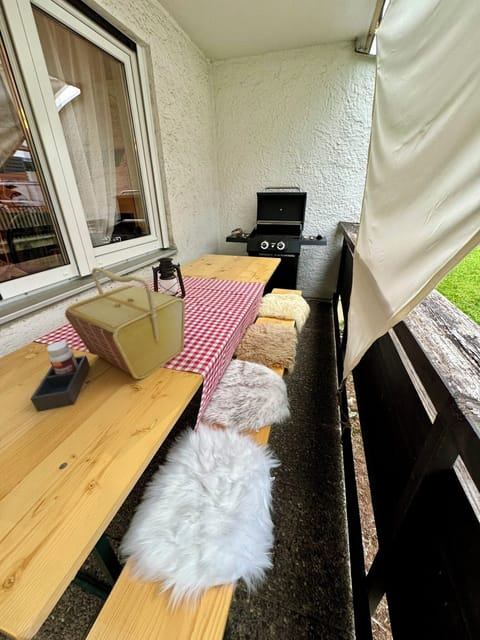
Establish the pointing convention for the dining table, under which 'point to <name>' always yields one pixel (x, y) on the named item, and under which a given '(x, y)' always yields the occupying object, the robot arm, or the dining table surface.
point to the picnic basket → (130, 325)
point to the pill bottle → (62, 358)
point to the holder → (60, 387)
